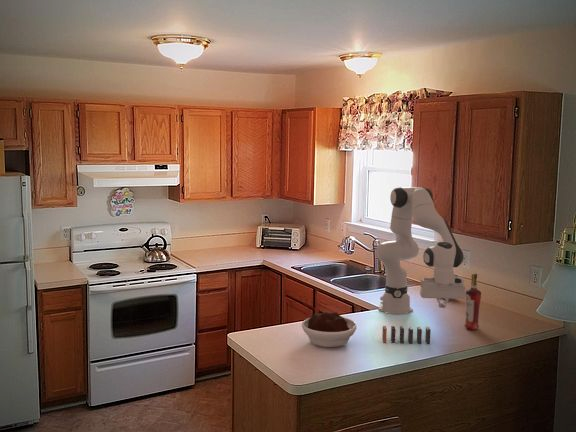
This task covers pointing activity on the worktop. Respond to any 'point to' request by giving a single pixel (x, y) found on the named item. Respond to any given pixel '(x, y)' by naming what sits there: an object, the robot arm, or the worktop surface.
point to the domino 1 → (384, 334)
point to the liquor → (472, 305)
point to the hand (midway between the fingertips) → (442, 307)
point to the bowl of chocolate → (328, 329)
